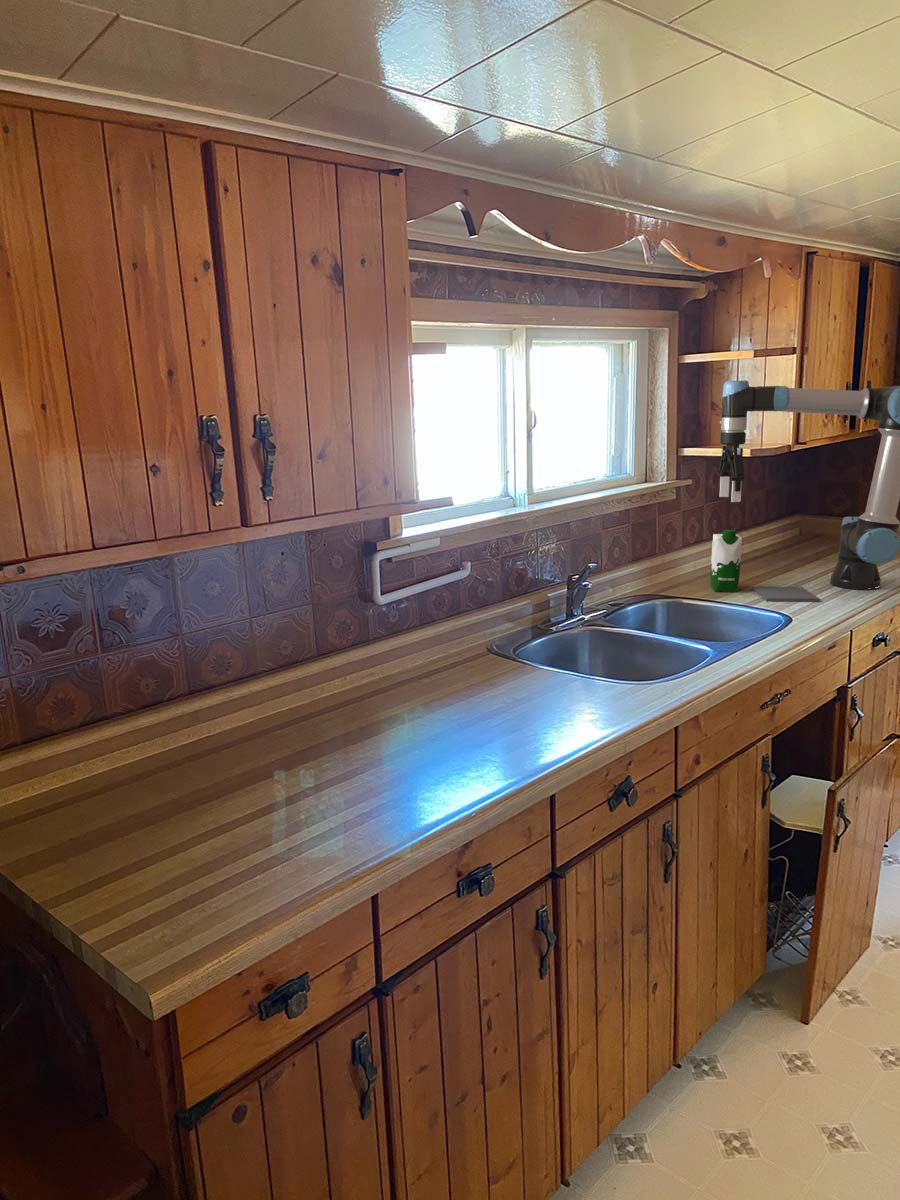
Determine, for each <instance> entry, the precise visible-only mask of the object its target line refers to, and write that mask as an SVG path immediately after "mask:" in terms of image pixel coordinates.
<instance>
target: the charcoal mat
mask: <svg viewBox="0 0 900 1200" xmlns="http://www.w3.org/2000/svg"><path fill="white" fill-rule="evenodd" d="M751 591H753V592H754V593H755V592H756V593H757V594H756V593H755V594H756V595H758V596H759V597H760V596H761V597H762V598H761V597H760V598H761V599H763V600H764V601H765V600H766V601H765V602H768V601H771V602H772V603H773V602H779V603H780V602H781V603H782V602H784V603H785V602H789V603H794V602H795V603H796V602H800V603H803V602H804V603H805V602H806V603H807V602H809V603H819V602H820V600H821V599H820V598H819V597H818V596H816V595H815V594H813V593H812V592H810V591H808V590H807V589H805V588H804V587H803V586H751ZM771 602H770V603H771Z"/></svg>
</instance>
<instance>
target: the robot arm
mask: <svg viewBox="0 0 900 1200" xmlns="http://www.w3.org/2000/svg"><path fill="white" fill-rule="evenodd" d="M721 399H722V401H721V420H720V421H719V424H720V425H721V426H720V430H721V431H722V432H721V433H720V441H719V442H720V443H719V444H720V445H723V446H722V449H721V450H722V452H721V457H720V463H719V468H718V474H719V475H720V476H719V477H720V478H719V498H728V497H729V494H730V493H729V492H730V477H731V474H732V478H731V483H732V484H731V497H730V499H731V501H730V502H731V503H740V502H742V487H743V485H742V484H743V480H745V468H744V467H745V466H744V456H743V455H744V449H743V448H742V447H740V445H744V444H746V439H747V437H746V436H747V433H746V432H745V431H746V430H747V425H748V424H747V422H748V412H751V413H752V412H784V413H801V414H802V413H806V414H820V415H821V414H824V415H825V414H826V415H842V416H844V415H845V416H857V417H858V418H859V420H860V419H862V420H871V421H877V422H879V423H878V427H877V430H878V432H879V433H880V434H881V438H880V442H879V448H878V453H877V457H876V461H875V466H874V471H873V474H872V475H873V476H872V480H871V483H870V488H869V489H870V490H869V493H868V498H867V503H866V507H865V511H864V513H862V514H861V515H859V516H844V517H843V519H842V522H841V526H840V528H841V529H840V536H839V537H840V538H839V549H838V559H837V563H836V565H835V567H834V569H833V571H832V573H831V575H830V582H829V584H830V585H832V586H833V587H834V586H835V587H838V588H842V589H843V588H844V589H849V588H850V590H862V589H868V588H875V587H878V586H880V587H881V576H880V571H879V567H878V565H879V564H880V565H882V564H885V563H887V562H889V561H891V560H893V559H894V558H895V557H896V555H897V554H898V552H899V551H900V538H899V535H898V531H899V527H900V521H899V519H898V518H897V512H898V506H899V502H900V385H890V386H884V387H864V388H863V389H861V390H848V389H846V390H845V389H823V388H802V387H801V388H799V387H798V388H797V387H788V386H787V385H770V386H769V385H768V386H761V385H760V386H759V385H758V386H750V383H749V380H727V381H725V382H724V384H723V389H722V395H721ZM731 472H732V473H731ZM868 590H869V589H868Z"/></svg>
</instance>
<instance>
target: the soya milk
mask: <svg viewBox="0 0 900 1200" xmlns="http://www.w3.org/2000/svg"><path fill="white" fill-rule="evenodd" d="M742 543H743V537H741V536H740V535H739V534H737V530H736V529H723V530H722V533H713V534H712V543H711V545H712V546H711V558H710V559H711V561H710V588H711V587H712V588H711V589H712V590H713V591H714V592H715V591H724V592H723V593H737V592H738V589H739V582H740V581H739V580H740V572H741V571H740V570H741V559H742V546H743V545H742Z"/></svg>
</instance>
